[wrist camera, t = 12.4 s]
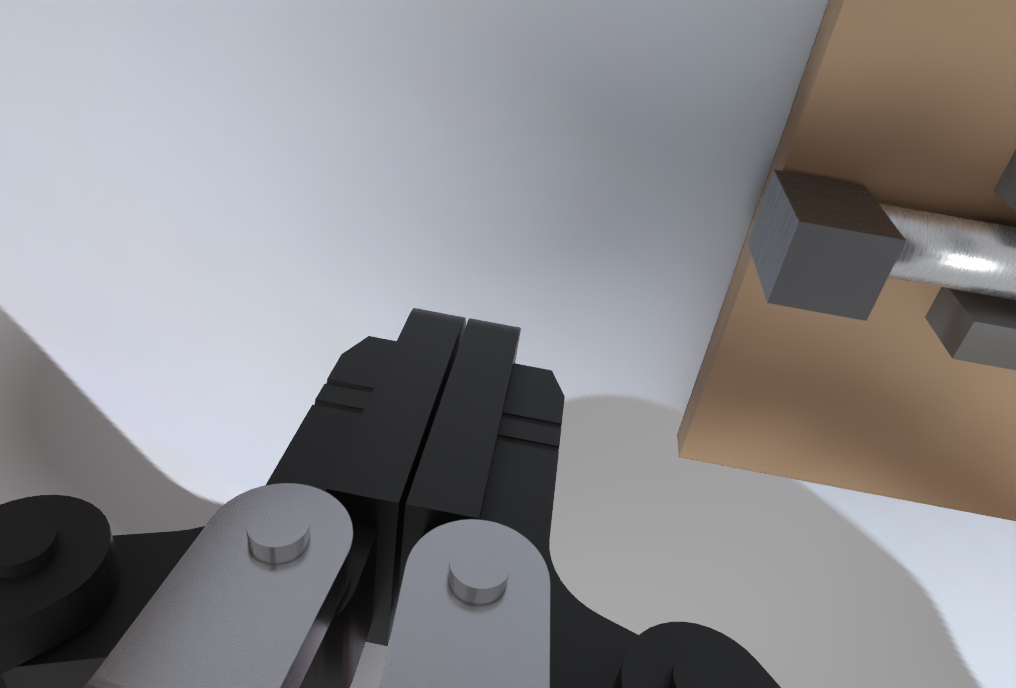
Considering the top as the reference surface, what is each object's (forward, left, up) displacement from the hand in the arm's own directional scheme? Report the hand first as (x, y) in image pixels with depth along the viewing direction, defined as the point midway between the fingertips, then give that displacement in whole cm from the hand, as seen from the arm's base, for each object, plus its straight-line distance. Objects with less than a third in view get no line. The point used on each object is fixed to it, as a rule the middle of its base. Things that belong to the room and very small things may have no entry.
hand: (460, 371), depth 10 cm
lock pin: (0, +10, -8) cm, 13 cm away
